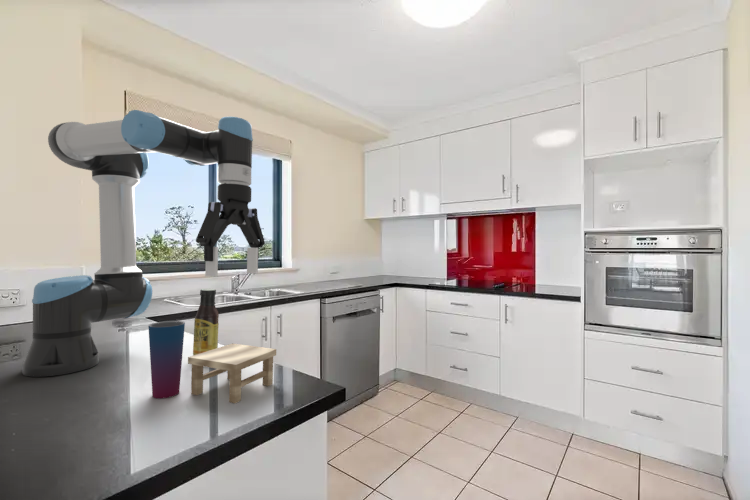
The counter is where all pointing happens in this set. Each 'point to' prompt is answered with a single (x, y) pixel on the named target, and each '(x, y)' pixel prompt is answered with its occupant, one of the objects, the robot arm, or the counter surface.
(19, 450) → the counter surface
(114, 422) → the counter surface
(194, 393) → the beige streaked flat-top fixture
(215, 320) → the sauce bottle
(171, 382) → the cup
